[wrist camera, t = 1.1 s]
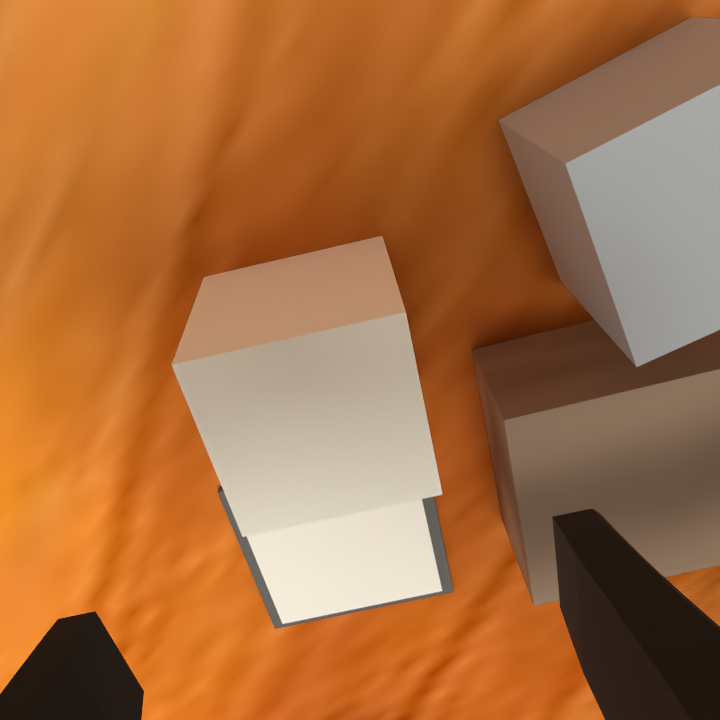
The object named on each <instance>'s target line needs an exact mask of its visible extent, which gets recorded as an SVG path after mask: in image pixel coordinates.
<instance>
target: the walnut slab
mask: <svg viewBox="0 0 720 720" xmlns="http://www.w3.org/2000/svg"><path fill="white" fill-rule="evenodd" d="M472 355H473V360H474V366H475V371H476V377H477V383H478V388H479V394H480V399H481V405H482V410H483V416H484V422H485V427H486V433H487V438H488V444H489V449H490V455H491V460H492V466H493V472H494V477H495V483H496V488H497V494H498V499H499V505H500V510H501V516H502V520H503V523H504V526H505V529H506V531H507V534H508V537H509V539H510V542H511V545H512V548H513V550H514V553H515V556H516V558H517V561H518V564H519V567H520V569H521V572H522V575H523V577H524V580H525V583H526V586H527V588H528V591H529V594H530V596H531V599H532V602H533V604H534V606H537V605H541V604H546V603H550V602H555V601H560V598H559V587H558V575H557V564H556V553H555V542H554V530H553V519H552V517H553V516H558V515H563V514H568V513H572V512H577V511H582V510H587V509H592V508H593V509H594V510H596V511H597V512H599V513H600V514H601V515H602V516H603V517H604V518H605V519H606V520H607V521H608V522H609V523H610V524H611V525H612V526H613V527H614V528H615V530H616V531H617V532H618V533H619V534H620V535H621V536H622V537H623V538H624V539H625V540H626V541H627V542H628V543H629V544H630V545H631V546H632V547H633V548H634V549H635V550H636V551H637V552H638V553H639V554H640V555H641V556H642V557H643V558H645V559H646V560H647V561H648V562H649V563H650V564H651V565H652V566H653V567H654V568H655V569H656V570H657V571H658V572H659V573H660V574H661V575H662V576H663V577H668V576H673V575H677V574H682V573H686V572H691V571H696V570H700V569H705V568H709V567H714V566H718V565H720V330H718V331H716V332H714V333H712V334H709V335H707V336H705V337H703V338H700V339H698V340H696V341H694V342H692V343H689V344H687V345H685V346H683V347H680V348H678V349H676V350H674V351H671V352H669V353H667V354H665V355H663V356H660V357H658V358H656V359H654V360H651V361H649V362H647V363H645V364H643V365H640V366H638V367H636V366H635V365H634V364H633V362H632V361H631V360H630V359H629V358H628V357H627V356H626V355H625V353H624V352H623V351H622V350H621V349H620V348H619V347H618V346H617V344H616V343H615V342H614V341H613V340H612V339H611V338H610V337H609V335H608V334H607V333H606V332H605V331H604V330H603V329H602V328H601V326H600V325H599V324H598V323H597V322H596V321H595V320H591V321H587V322H583V323H578V324H574V325H570V326H566V327H562V328H558V329H554V330H550V331H546V332H542V333H537V334H533V335H529V336H525V337H521V338H517V339H513V340H509V341H505V342H501V343H497V344H492V345H488V346H484V347H480V348H476V349H472Z"/></svg>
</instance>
